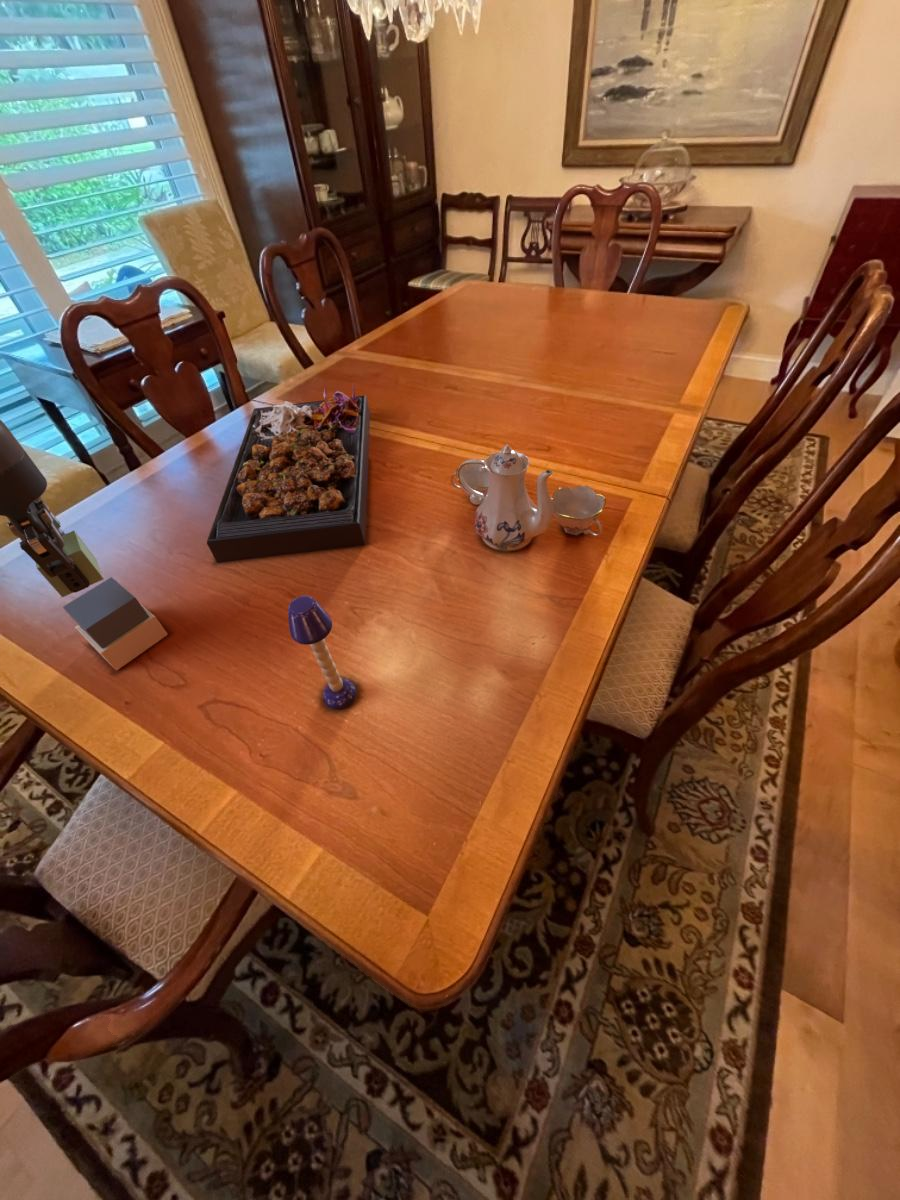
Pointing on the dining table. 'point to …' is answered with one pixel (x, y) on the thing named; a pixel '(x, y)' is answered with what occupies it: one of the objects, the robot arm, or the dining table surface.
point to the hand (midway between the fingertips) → (77, 575)
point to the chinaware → (522, 501)
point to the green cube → (81, 559)
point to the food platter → (297, 481)
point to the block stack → (115, 623)
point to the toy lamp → (319, 647)
